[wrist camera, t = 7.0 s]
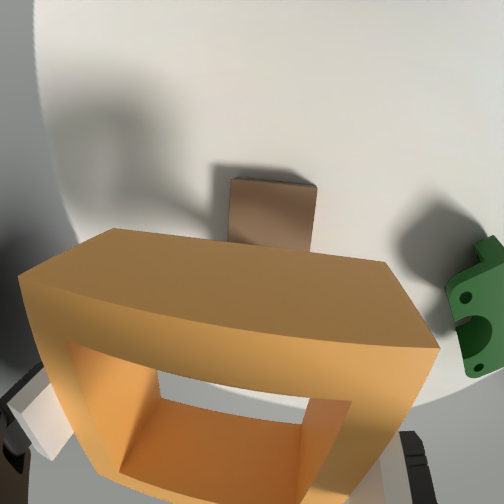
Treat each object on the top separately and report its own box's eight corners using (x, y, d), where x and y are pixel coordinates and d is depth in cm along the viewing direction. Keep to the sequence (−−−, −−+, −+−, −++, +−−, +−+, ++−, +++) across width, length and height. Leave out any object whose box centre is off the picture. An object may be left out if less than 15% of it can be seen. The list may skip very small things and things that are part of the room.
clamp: (434, 257, 26) (438, 266, 19) (483, 234, 23) (505, 235, 15) (463, 362, 24) (470, 405, 17) (510, 342, 21) (532, 378, 14)
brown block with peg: (237, 177, 23) (193, 194, 14) (316, 185, 22) (325, 207, 13) (228, 333, 27) (196, 407, 18) (293, 343, 26) (284, 423, 17)
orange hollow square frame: (113, 228, 11) (18, 275, 6) (385, 262, 10) (440, 348, 5) (139, 408, 14) (98, 474, 9) (324, 443, 13) (322, 526, 8)
